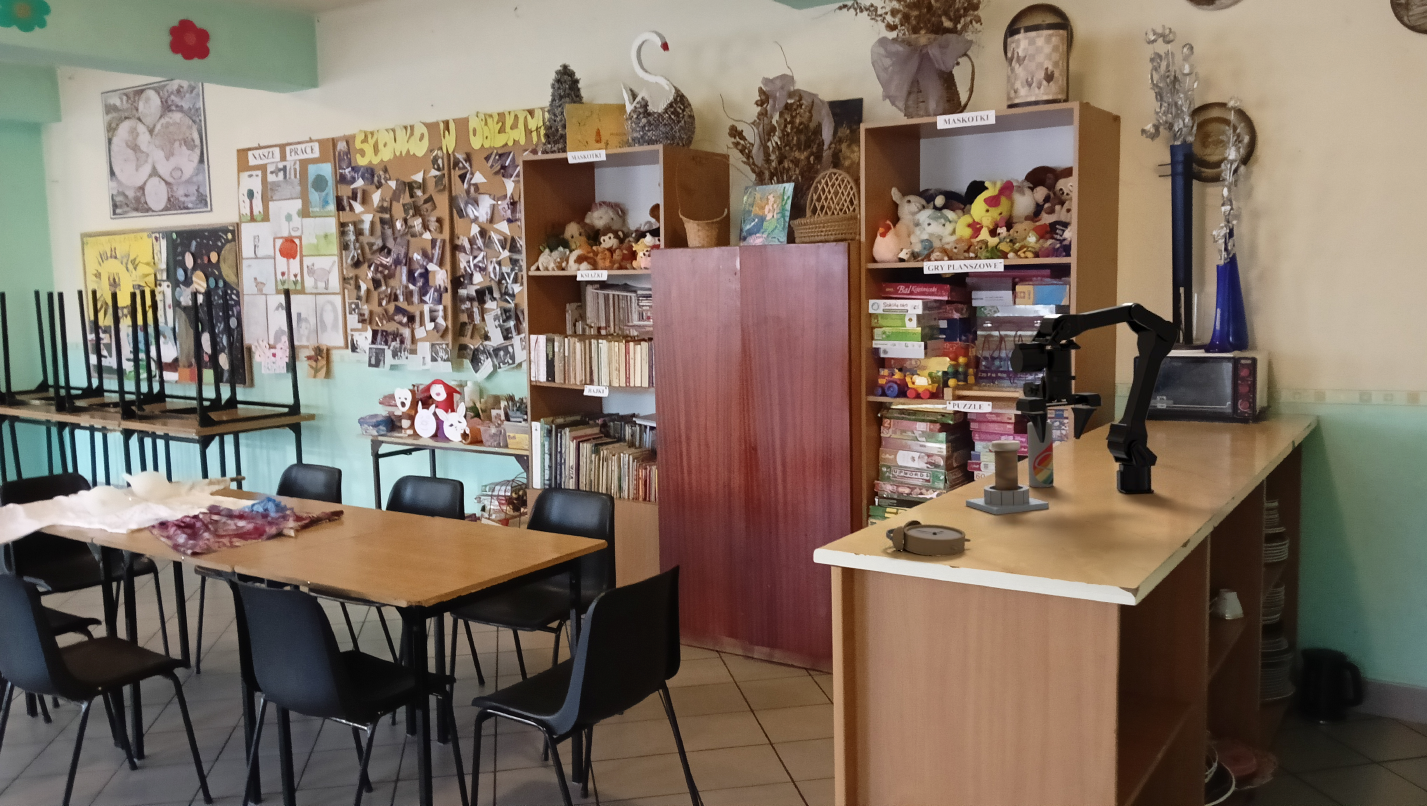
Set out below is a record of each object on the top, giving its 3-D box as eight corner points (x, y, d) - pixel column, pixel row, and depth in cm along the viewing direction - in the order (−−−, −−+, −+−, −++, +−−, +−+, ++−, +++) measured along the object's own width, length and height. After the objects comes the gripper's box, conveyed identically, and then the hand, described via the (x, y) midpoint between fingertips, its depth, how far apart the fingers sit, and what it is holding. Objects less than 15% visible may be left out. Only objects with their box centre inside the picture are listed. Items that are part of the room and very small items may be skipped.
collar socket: (1016, 499, 241) (1016, 480, 240) (1048, 508, 229) (1048, 488, 229) (966, 505, 237) (965, 486, 237) (995, 514, 226) (995, 495, 225)
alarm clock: (954, 543, 190) (877, 523, 198) (950, 569, 191) (873, 548, 199) (975, 530, 200) (901, 511, 207) (971, 555, 201) (897, 535, 208)
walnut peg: (1022, 498, 235) (1020, 440, 234) (1020, 504, 229) (1019, 444, 228) (993, 498, 237) (992, 440, 236) (991, 503, 231) (990, 444, 230)
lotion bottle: (1055, 487, 253) (1053, 403, 251) (1030, 487, 254) (1027, 404, 252) (1052, 483, 258) (1050, 400, 256) (1027, 483, 259) (1025, 401, 257)
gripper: (1071, 366, 247) (1073, 433, 248) (1001, 372, 241) (1003, 440, 243) (1102, 368, 236) (1104, 438, 238) (1029, 374, 231) (1031, 446, 232)
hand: (1059, 441), depth 238 cm, fingers open, 9 cm apart
